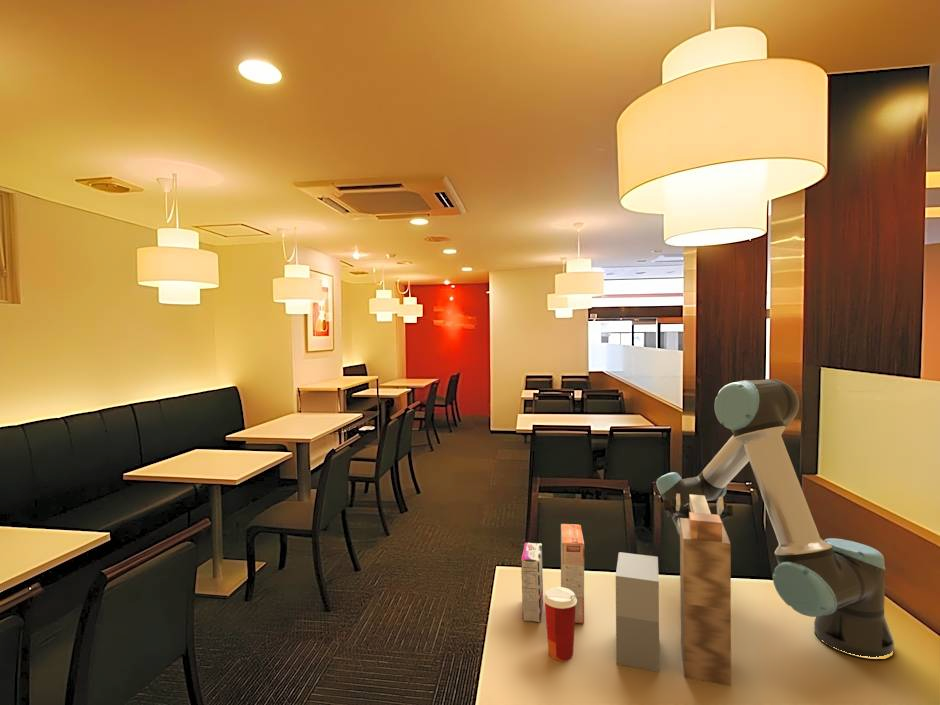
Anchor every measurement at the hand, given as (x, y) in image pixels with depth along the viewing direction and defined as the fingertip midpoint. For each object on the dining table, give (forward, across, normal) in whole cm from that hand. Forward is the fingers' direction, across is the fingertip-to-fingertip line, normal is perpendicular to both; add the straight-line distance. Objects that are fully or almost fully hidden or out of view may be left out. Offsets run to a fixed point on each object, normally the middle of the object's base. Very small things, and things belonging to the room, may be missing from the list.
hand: (699, 501), depth 120 cm
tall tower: (-10, 0, -34) cm, 35 cm away
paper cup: (-4, +31, -37) cm, 48 cm away
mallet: (+1, 0, -5) cm, 5 cm away
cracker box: (-21, +31, -27) cm, 46 cm away
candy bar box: (-18, +41, -29) cm, 53 cm away
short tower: (-10, +14, -34) cm, 38 cm away
